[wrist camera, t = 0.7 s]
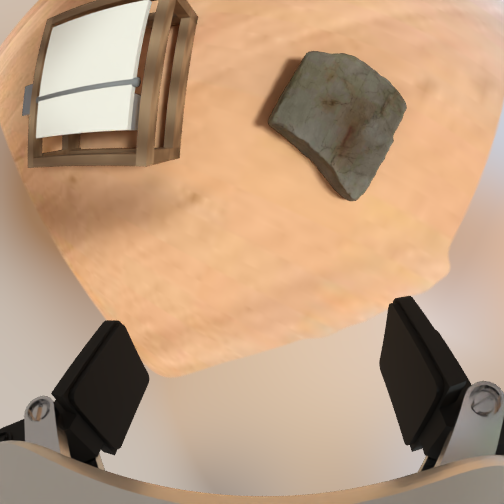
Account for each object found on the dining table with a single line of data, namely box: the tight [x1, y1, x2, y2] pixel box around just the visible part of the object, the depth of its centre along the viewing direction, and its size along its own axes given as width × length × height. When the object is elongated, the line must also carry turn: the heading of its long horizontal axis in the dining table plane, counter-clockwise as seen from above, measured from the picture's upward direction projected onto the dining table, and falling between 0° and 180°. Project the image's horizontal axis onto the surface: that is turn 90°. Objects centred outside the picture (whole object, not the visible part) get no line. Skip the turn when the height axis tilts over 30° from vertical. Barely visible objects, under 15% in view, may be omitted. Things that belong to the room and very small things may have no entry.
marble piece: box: [268, 51, 407, 201], centre depth 30 cm, size 17×15×4 cm
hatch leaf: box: [36, 0, 152, 138], centre depth 23 cm, size 15×15×5 cm
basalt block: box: [22, 84, 33, 116], centre depth 29 cm, size 5×5×5 cm
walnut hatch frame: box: [28, 0, 198, 168], centre depth 26 cm, size 21×18×10 cm
